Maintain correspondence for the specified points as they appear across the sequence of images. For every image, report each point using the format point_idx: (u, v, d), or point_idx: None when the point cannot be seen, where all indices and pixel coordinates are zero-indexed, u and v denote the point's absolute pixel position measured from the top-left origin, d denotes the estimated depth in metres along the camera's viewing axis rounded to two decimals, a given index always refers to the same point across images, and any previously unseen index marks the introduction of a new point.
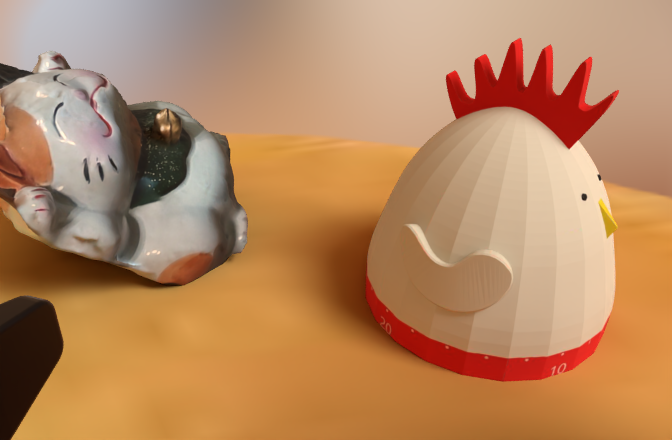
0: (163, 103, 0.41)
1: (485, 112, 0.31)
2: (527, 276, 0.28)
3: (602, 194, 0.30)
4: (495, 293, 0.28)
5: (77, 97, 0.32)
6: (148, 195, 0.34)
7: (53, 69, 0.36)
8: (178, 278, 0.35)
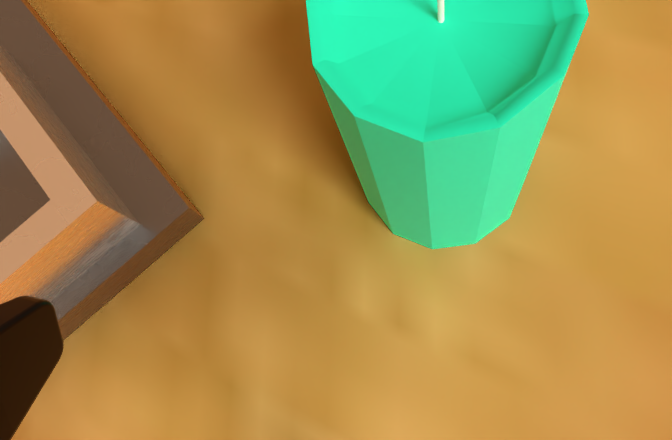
0: None
1: None
2: None
3: None
4: None
5: None
6: None
7: None
8: None
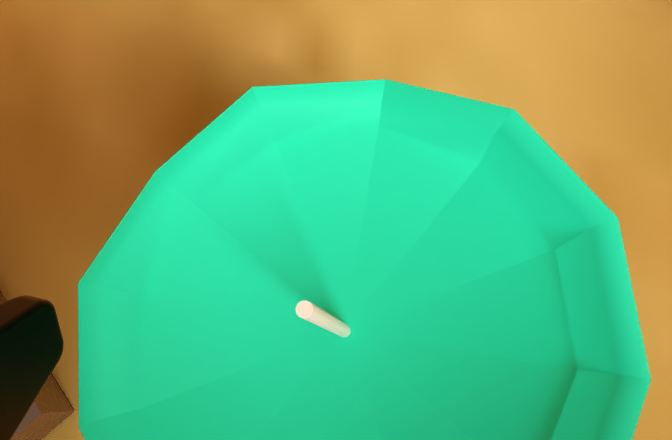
0: None
1: None
2: None
3: None
4: None
5: None
6: None
7: None
8: None
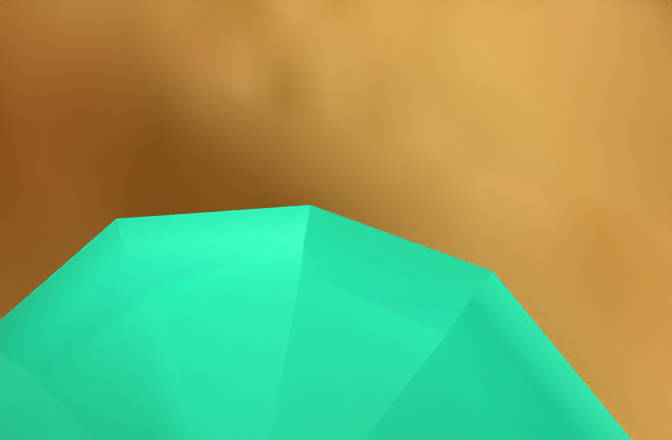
0: None
1: None
2: None
3: None
4: None
5: None
6: None
7: None
8: None
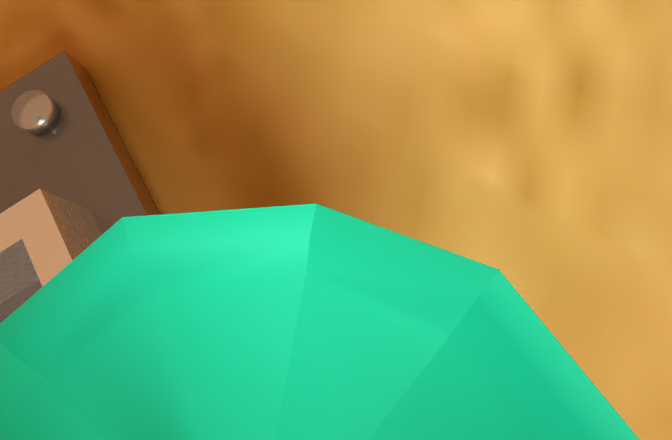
0: None
1: None
2: None
3: None
4: None
5: None
6: None
7: None
8: None
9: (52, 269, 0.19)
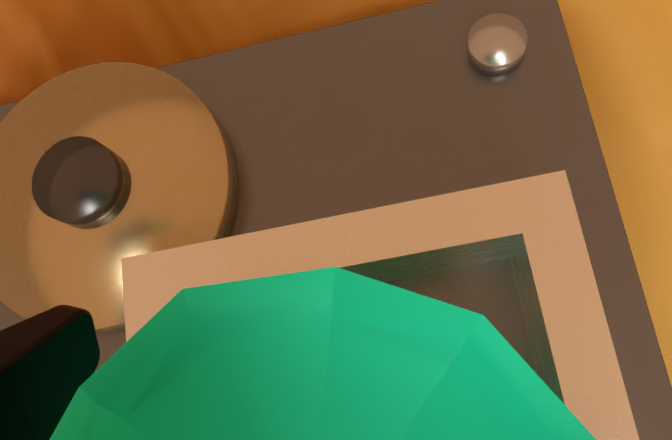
0: None
1: None
2: None
3: None
4: None
5: None
6: None
7: None
8: None
9: (565, 297, 0.13)
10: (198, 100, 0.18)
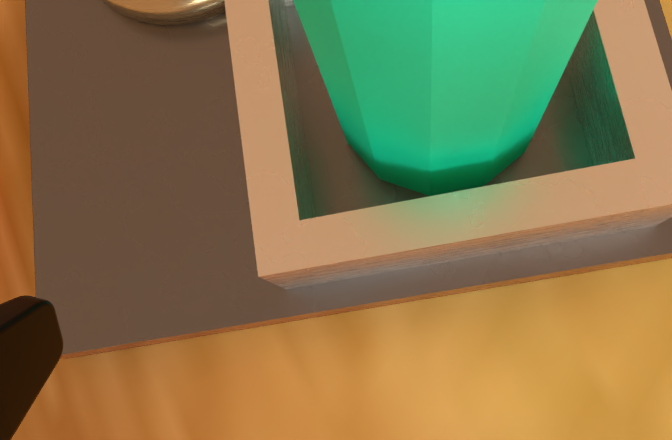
0: None
1: None
2: None
3: None
4: None
5: None
6: None
7: None
8: None
9: None
10: None
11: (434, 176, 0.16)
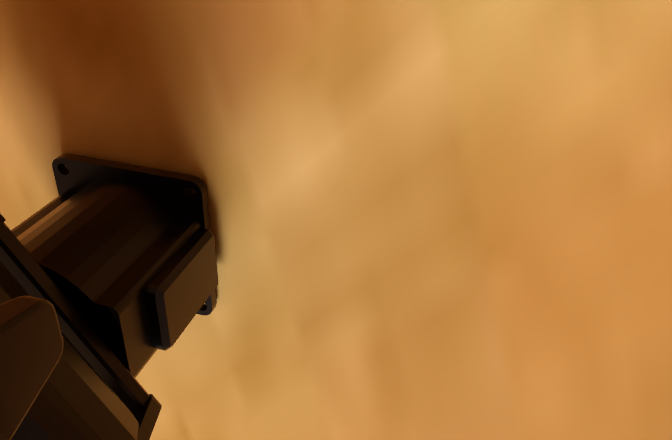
0: None
1: None
2: None
3: None
4: None
5: None
6: None
7: None
8: None
9: None
10: None
11: None
